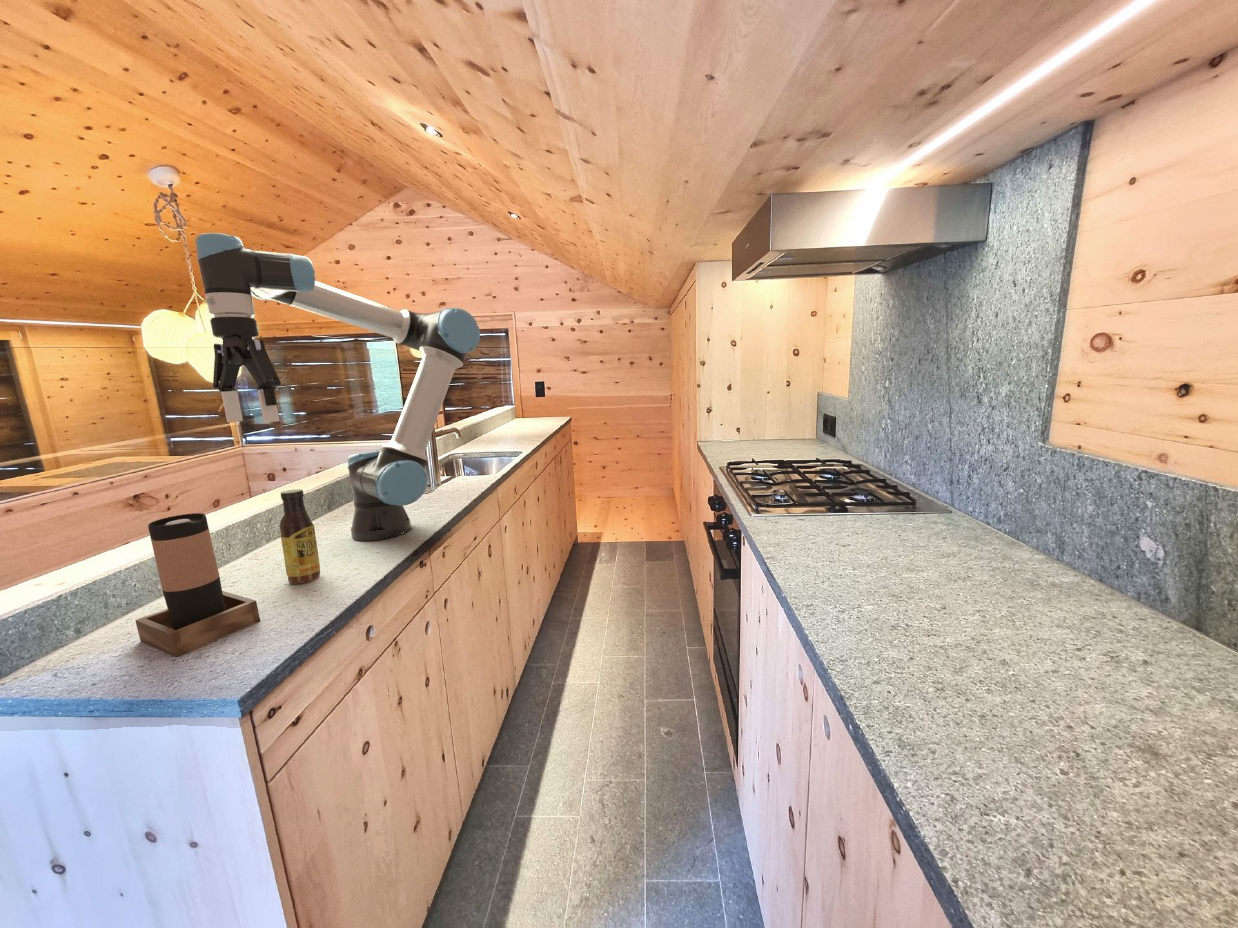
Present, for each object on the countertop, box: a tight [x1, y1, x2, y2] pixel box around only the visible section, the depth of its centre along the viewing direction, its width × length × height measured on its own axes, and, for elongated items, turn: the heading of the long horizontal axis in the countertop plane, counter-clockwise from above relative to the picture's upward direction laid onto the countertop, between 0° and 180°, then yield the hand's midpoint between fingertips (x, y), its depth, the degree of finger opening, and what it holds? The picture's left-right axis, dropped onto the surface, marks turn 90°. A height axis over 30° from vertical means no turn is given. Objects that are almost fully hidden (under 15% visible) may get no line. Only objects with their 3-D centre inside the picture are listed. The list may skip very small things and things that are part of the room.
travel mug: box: [147, 512, 225, 630], centre depth 86 cm, size 8×8×20 cm
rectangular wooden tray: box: [134, 590, 261, 658], centre depth 88 cm, size 12×12×4 cm
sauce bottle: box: [279, 488, 321, 585], centre depth 107 cm, size 7×6×20 cm
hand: (252, 421), depth 105 cm, fingers open, 13 cm apart
